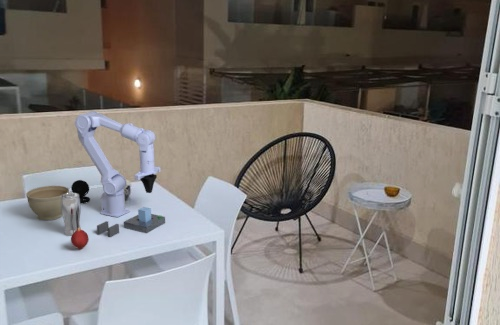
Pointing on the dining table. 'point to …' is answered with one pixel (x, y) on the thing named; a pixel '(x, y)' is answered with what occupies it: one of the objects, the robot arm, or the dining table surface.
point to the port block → (144, 223)
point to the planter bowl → (46, 201)
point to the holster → (108, 229)
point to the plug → (144, 214)
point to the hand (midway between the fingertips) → (148, 192)
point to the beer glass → (71, 212)
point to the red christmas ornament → (79, 239)
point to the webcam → (81, 190)
